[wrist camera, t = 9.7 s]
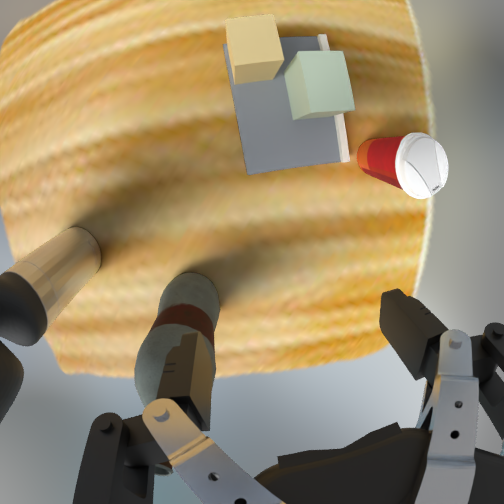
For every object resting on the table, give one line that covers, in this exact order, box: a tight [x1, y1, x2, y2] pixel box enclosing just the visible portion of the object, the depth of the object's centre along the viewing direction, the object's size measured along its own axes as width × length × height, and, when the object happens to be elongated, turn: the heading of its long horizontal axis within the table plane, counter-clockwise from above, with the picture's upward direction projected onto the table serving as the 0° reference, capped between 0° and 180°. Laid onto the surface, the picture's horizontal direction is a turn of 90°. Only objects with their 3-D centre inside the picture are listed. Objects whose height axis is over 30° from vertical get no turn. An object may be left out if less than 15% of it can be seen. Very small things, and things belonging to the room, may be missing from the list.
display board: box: [223, 34, 350, 175], centre depth 32 cm, size 14×19×3 cm
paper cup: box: [357, 133, 448, 199], centre depth 30 cm, size 8×8×14 cm
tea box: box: [284, 51, 355, 120], centre depth 27 cm, size 5×7×9 cm
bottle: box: [135, 272, 220, 476], centre depth 30 cm, size 9×9×30 cm
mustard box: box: [225, 14, 284, 85], centre depth 25 cm, size 5×6×9 cm
